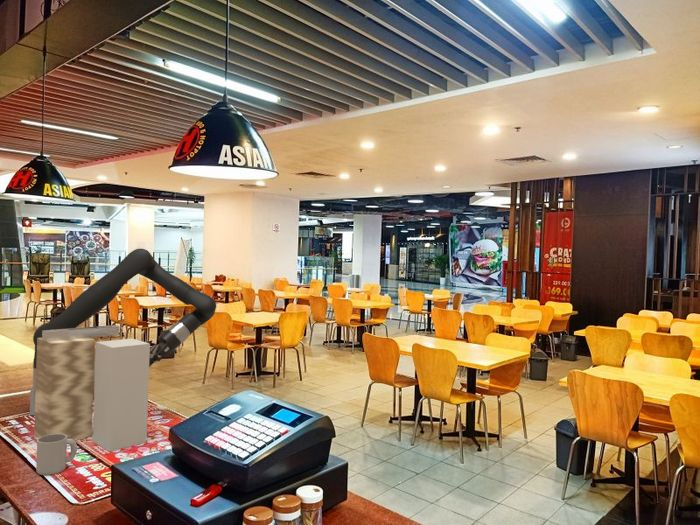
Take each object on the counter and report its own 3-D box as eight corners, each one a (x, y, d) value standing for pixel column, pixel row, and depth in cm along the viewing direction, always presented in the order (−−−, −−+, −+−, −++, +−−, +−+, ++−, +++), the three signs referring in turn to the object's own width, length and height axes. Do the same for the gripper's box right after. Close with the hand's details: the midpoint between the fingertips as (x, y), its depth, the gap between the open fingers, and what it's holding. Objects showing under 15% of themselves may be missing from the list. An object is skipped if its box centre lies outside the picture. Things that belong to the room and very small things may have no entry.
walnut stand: (48, 446, 161) (51, 343, 160) (34, 435, 170) (37, 337, 169) (91, 436, 171) (94, 339, 170) (76, 426, 179) (79, 334, 179)
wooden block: (46, 341, 163) (46, 332, 163) (42, 339, 166) (42, 330, 166) (119, 335, 181) (119, 326, 180) (114, 333, 183) (114, 325, 183)
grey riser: (109, 451, 159) (112, 347, 158) (92, 441, 166) (95, 342, 166) (146, 442, 167) (149, 343, 167) (129, 432, 175) (132, 338, 175)
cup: (33, 468, 145) (34, 437, 145) (73, 460, 151) (74, 430, 151) (38, 477, 139) (39, 445, 139) (79, 469, 146) (80, 437, 146)
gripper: (161, 329, 200) (127, 358, 191) (175, 328, 189) (139, 360, 180) (174, 343, 202) (140, 373, 193) (187, 344, 191) (153, 375, 182)
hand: (140, 366), depth 187 cm, fingers open, 8 cm apart
